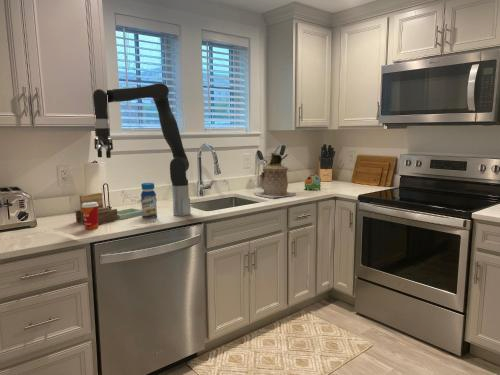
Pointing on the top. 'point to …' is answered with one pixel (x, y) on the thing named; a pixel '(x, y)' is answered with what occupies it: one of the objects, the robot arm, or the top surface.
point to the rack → (99, 216)
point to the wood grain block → (92, 199)
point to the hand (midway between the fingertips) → (104, 157)
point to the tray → (129, 213)
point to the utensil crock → (274, 179)
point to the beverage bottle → (148, 201)
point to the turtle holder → (312, 182)
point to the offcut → (102, 209)
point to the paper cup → (90, 215)
